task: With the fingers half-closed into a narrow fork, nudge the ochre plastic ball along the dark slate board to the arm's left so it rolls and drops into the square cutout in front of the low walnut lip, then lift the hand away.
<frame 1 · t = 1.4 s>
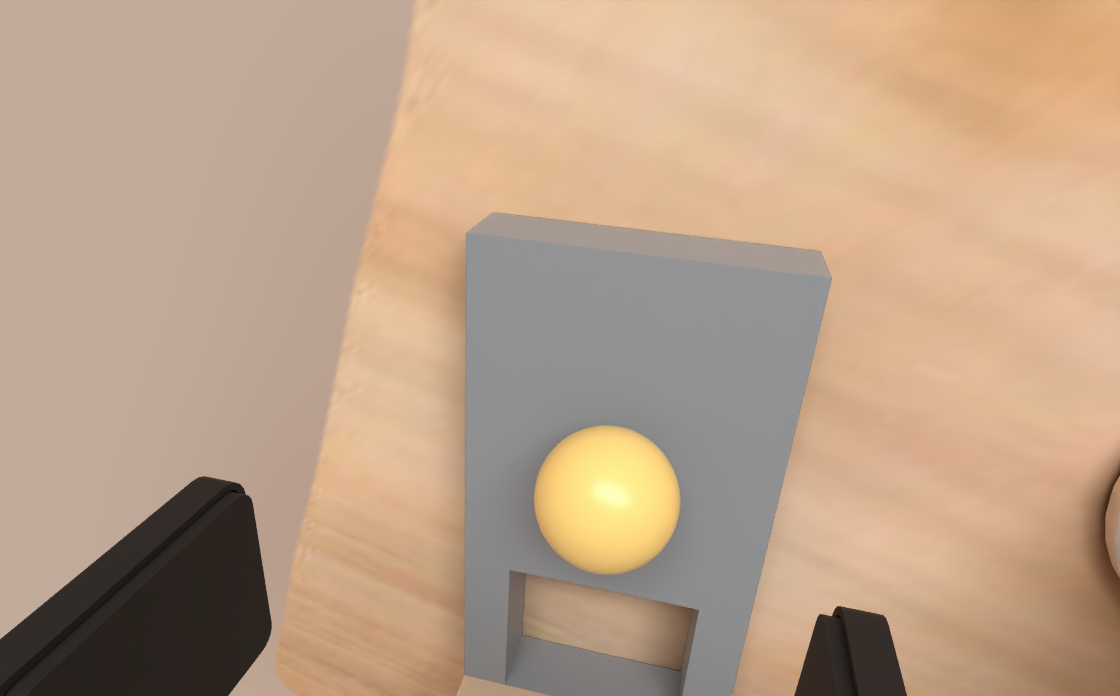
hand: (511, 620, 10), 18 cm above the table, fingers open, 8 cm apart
ball: (606, 498, 24), point 5 cm above the table, touching board
board: (618, 497, 30), on the table
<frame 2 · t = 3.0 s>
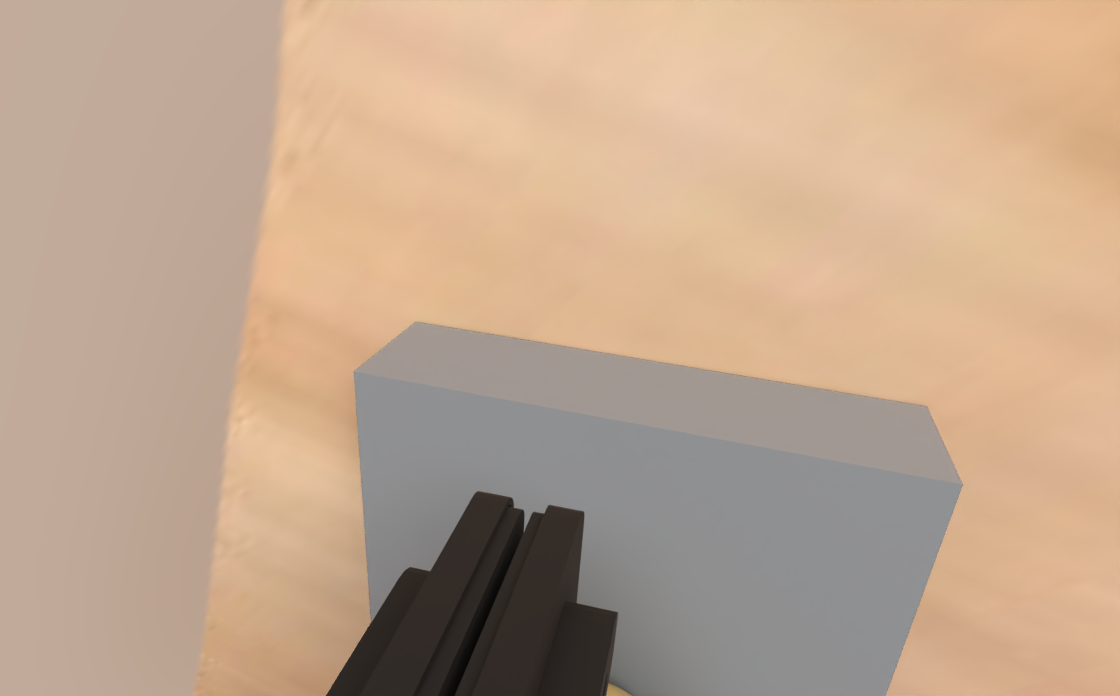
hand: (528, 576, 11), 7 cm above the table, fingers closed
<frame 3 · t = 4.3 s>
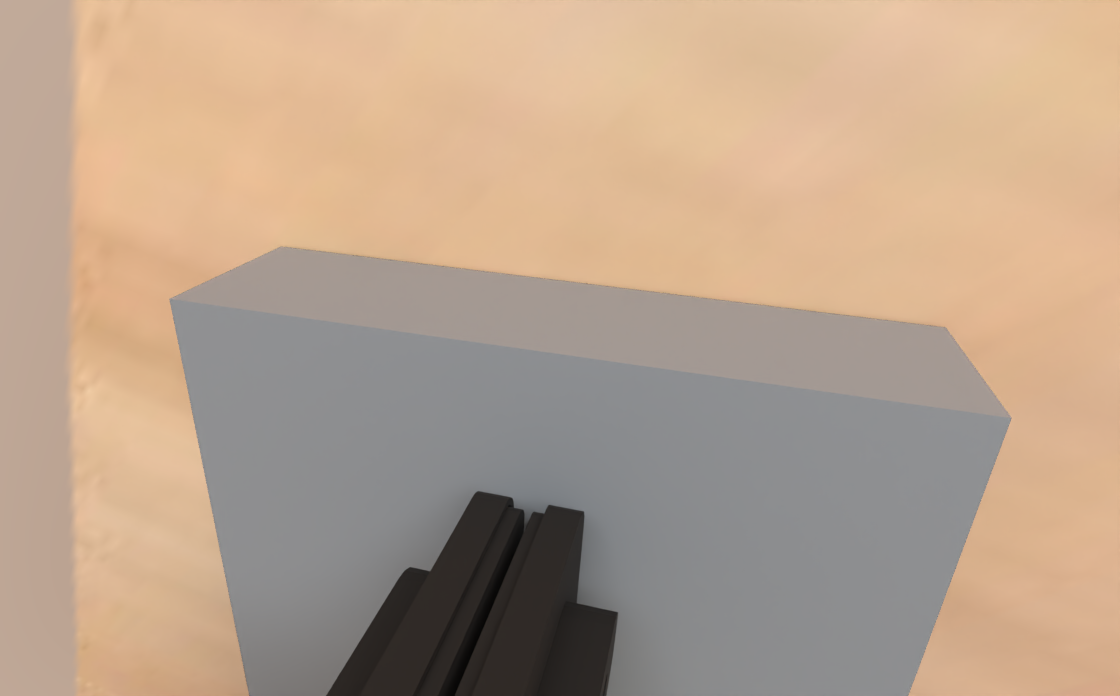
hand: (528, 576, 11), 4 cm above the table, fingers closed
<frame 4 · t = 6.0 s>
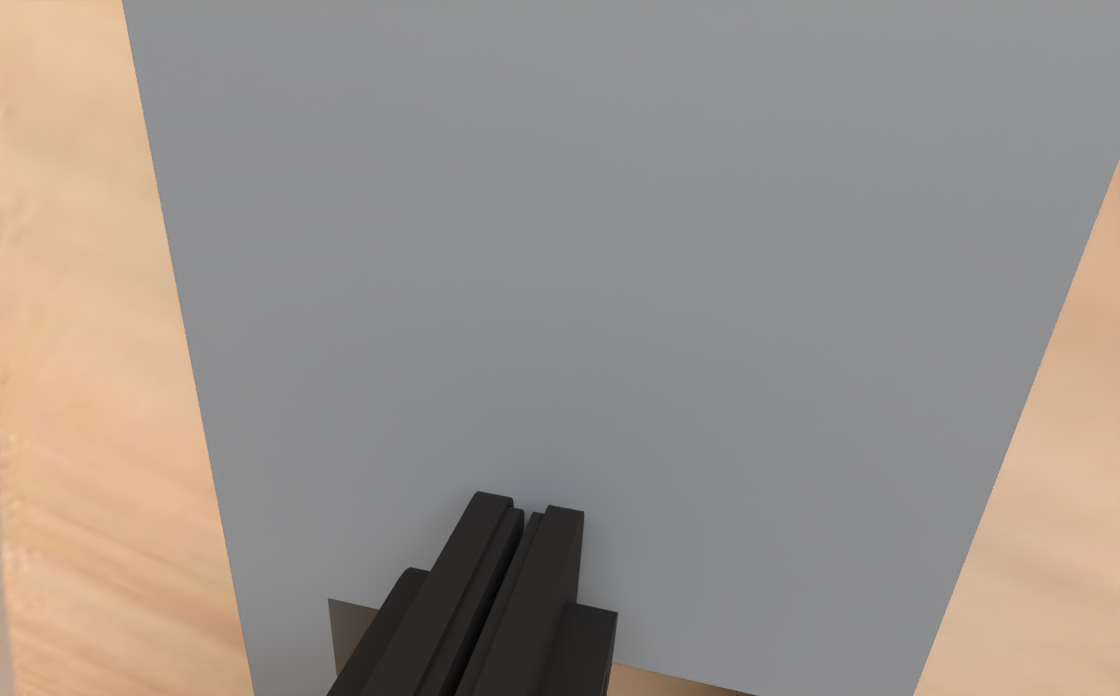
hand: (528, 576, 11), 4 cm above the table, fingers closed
board: (579, 435, 14), on the table
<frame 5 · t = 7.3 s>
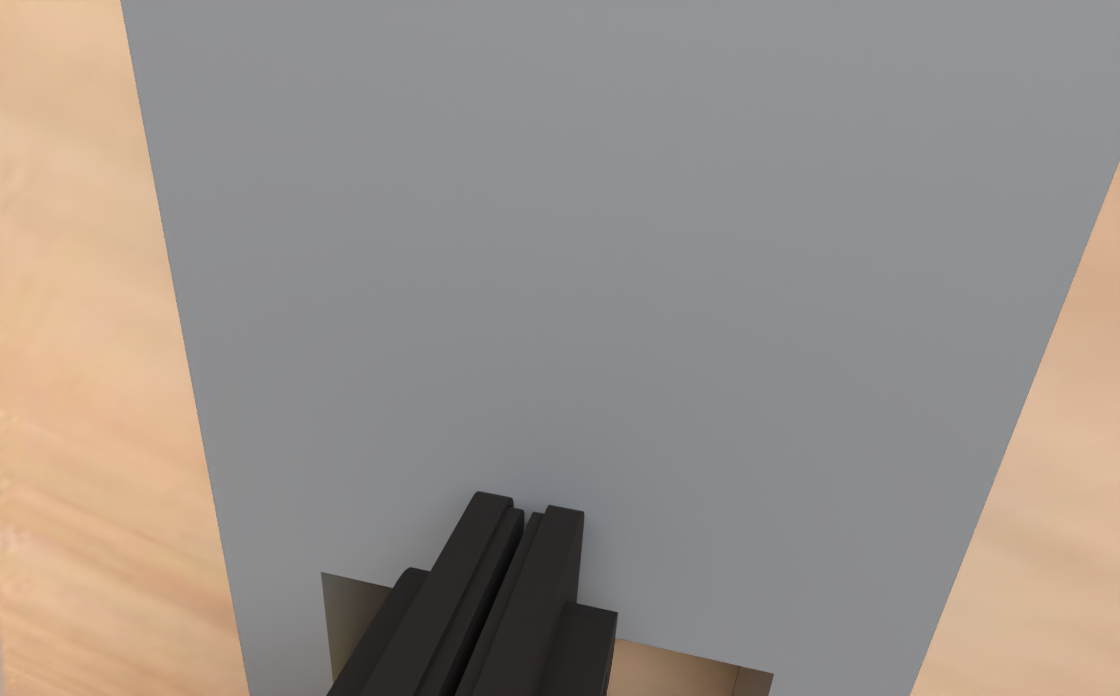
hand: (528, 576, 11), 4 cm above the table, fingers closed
board: (579, 408, 13), on the table
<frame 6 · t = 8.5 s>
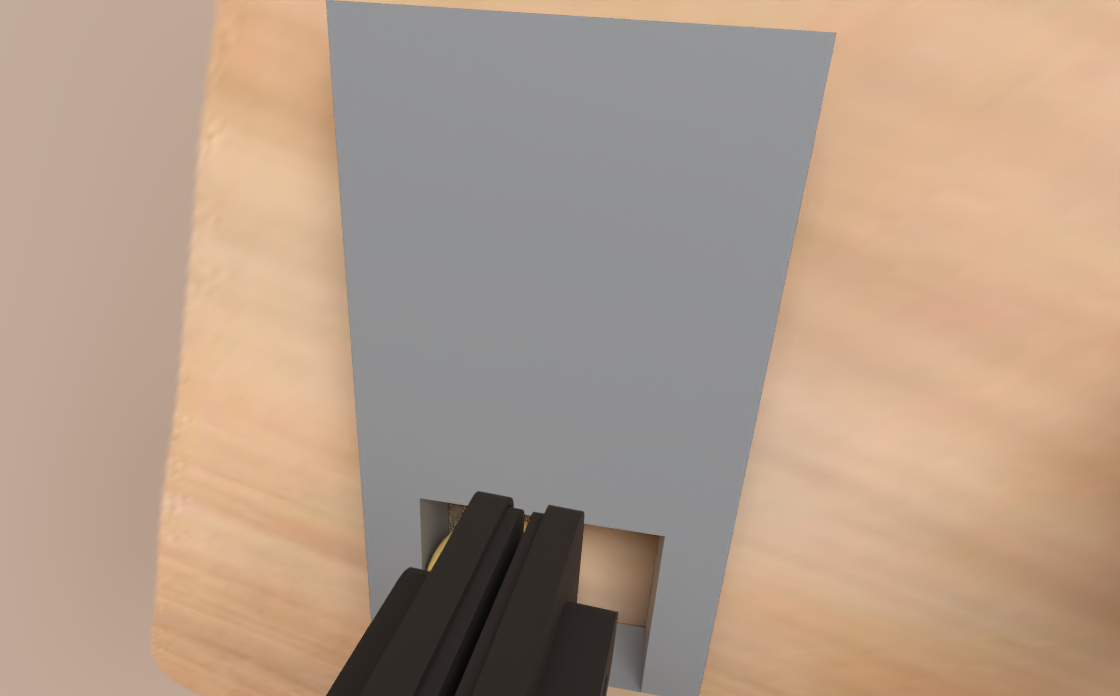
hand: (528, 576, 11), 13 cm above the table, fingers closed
board: (559, 403, 24), on the table
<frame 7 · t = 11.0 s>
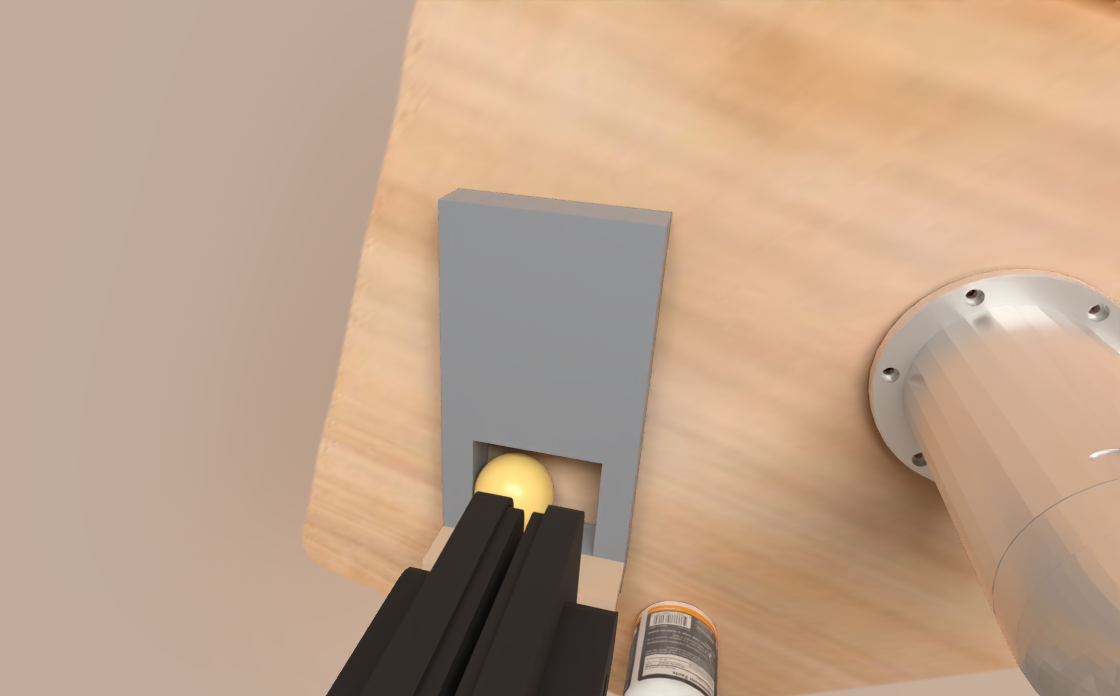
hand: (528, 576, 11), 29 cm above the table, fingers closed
ball: (514, 492, 44), point 2 cm above the table, tilted 104°
board: (550, 392, 43), on the table
pill bottle: (676, 625, 49), on the table
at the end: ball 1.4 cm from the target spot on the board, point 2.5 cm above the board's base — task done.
